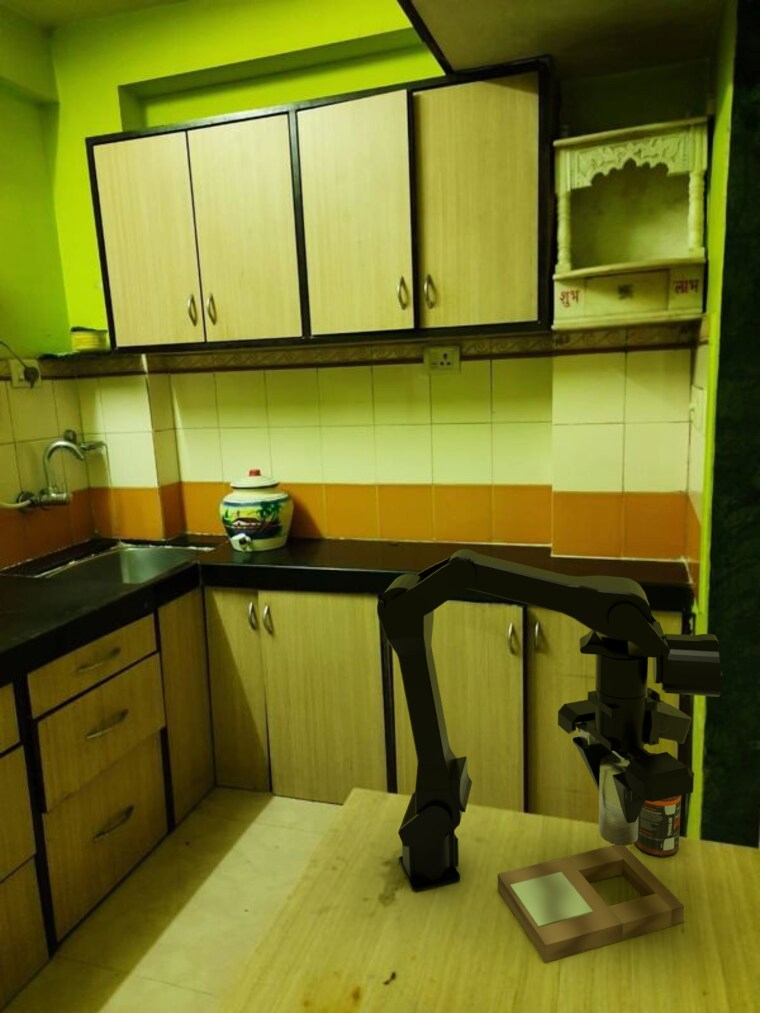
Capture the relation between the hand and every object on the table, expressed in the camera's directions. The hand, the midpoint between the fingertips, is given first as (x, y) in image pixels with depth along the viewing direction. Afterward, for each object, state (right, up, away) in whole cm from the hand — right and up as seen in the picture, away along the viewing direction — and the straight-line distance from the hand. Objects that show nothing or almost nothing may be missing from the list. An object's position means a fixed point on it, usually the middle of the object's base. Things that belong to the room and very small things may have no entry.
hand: (618, 810), depth 85 cm
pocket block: (-3, -12, +1) cm, 12 cm away
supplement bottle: (+9, -10, +12) cm, 18 cm away
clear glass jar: (0, -3, +1) cm, 3 cm away
